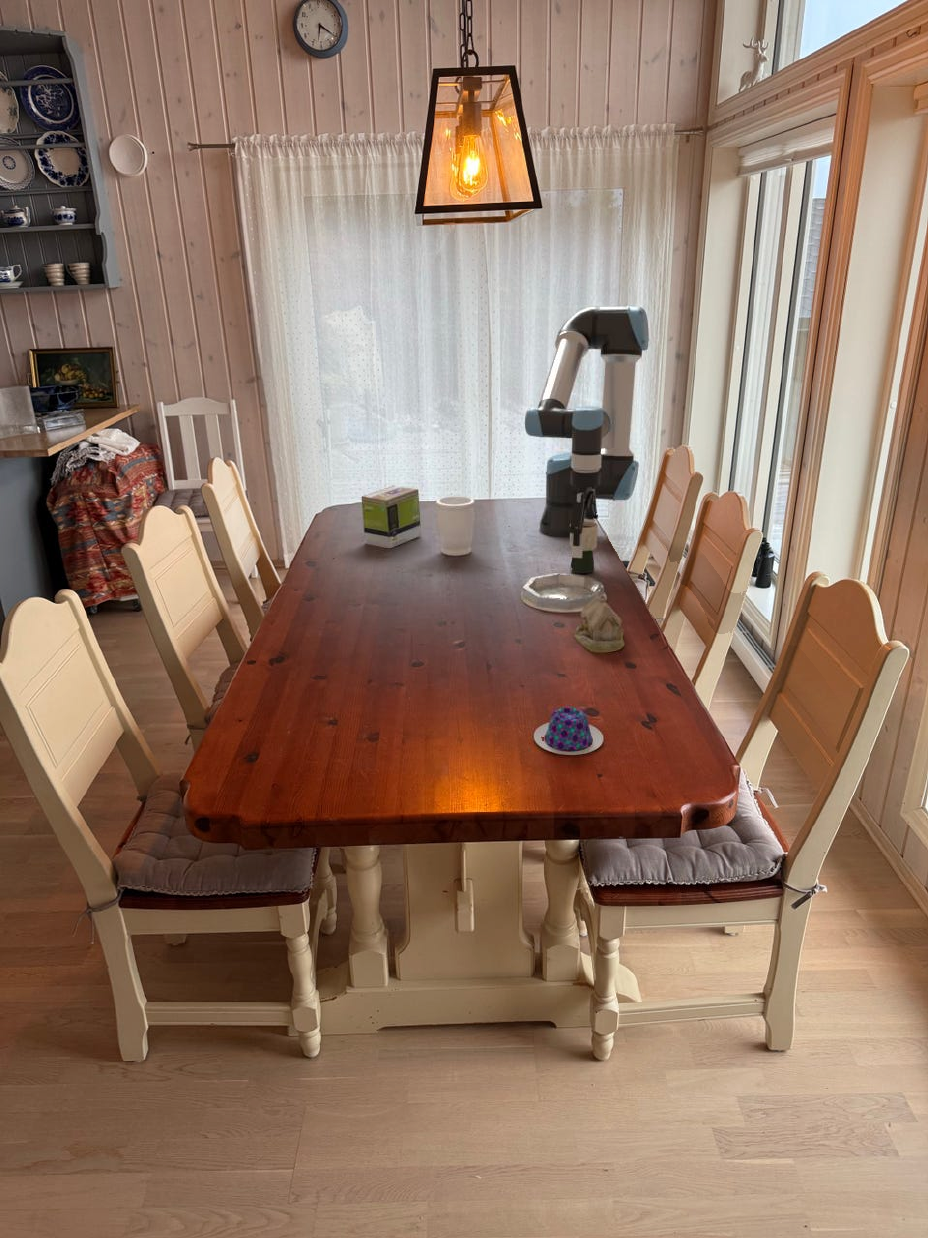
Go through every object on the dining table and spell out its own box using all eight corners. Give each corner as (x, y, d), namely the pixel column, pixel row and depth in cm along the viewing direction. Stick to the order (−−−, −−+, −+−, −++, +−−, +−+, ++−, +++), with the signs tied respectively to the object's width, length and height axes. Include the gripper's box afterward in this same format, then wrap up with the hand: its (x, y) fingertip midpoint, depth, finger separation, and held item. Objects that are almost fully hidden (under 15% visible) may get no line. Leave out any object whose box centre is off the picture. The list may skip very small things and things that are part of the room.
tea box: (396, 531, 273) (394, 484, 268) (422, 536, 268) (420, 488, 262) (363, 544, 262) (360, 494, 256) (389, 549, 256) (387, 499, 251)
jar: (476, 546, 257) (475, 496, 252) (473, 557, 248) (472, 505, 242) (439, 546, 258) (438, 495, 253) (435, 557, 249) (433, 505, 243)
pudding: (617, 745, 153) (619, 718, 151) (563, 766, 147) (564, 738, 145) (572, 717, 162) (573, 691, 160) (519, 736, 156) (520, 709, 154)
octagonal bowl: (534, 579, 231) (534, 568, 230) (614, 587, 224) (614, 576, 223) (509, 607, 213) (509, 595, 211) (596, 617, 206) (596, 605, 205)
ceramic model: (568, 629, 200) (570, 587, 196) (617, 626, 201) (619, 584, 197) (584, 655, 187) (585, 610, 183) (635, 651, 188) (638, 607, 184)
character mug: (563, 566, 240) (564, 519, 235) (588, 564, 241) (589, 517, 236) (575, 579, 230) (577, 531, 225) (602, 577, 231) (604, 529, 226)
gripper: (582, 459, 237) (579, 536, 245) (558, 478, 216) (556, 562, 223) (610, 460, 235) (606, 538, 243) (589, 480, 213) (586, 565, 221)
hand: (582, 550), depth 233 cm, fingers open, 13 cm apart
